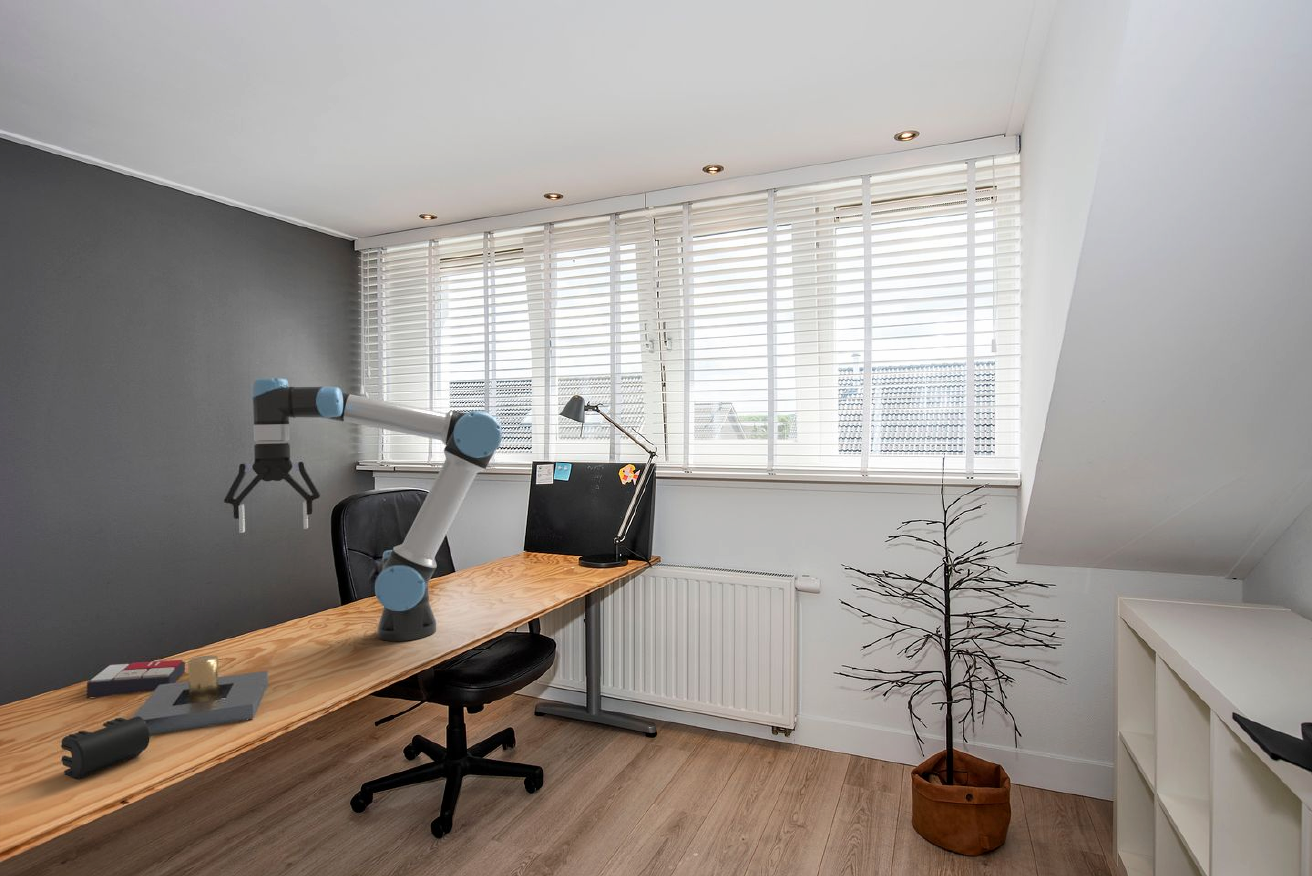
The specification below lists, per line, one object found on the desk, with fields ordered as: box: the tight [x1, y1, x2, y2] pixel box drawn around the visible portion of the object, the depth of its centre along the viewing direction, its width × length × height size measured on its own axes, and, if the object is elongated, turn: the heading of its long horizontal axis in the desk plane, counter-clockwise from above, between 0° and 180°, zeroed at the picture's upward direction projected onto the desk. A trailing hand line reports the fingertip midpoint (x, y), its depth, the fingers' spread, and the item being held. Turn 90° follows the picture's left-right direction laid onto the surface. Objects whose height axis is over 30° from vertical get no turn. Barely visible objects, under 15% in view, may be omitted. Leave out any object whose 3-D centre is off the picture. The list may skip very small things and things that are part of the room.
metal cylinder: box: [187, 655, 219, 704], centre depth 140 cm, size 5×5×10 cm
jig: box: [131, 670, 269, 736], centre depth 140 cm, size 20×20×3 cm
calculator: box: [86, 659, 186, 699], centre depth 154 cm, size 11×4×15 cm
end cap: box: [60, 716, 151, 780], centre depth 116 cm, size 10×7×7 cm
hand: (274, 530), depth 168 cm, fingers open, 13 cm apart
